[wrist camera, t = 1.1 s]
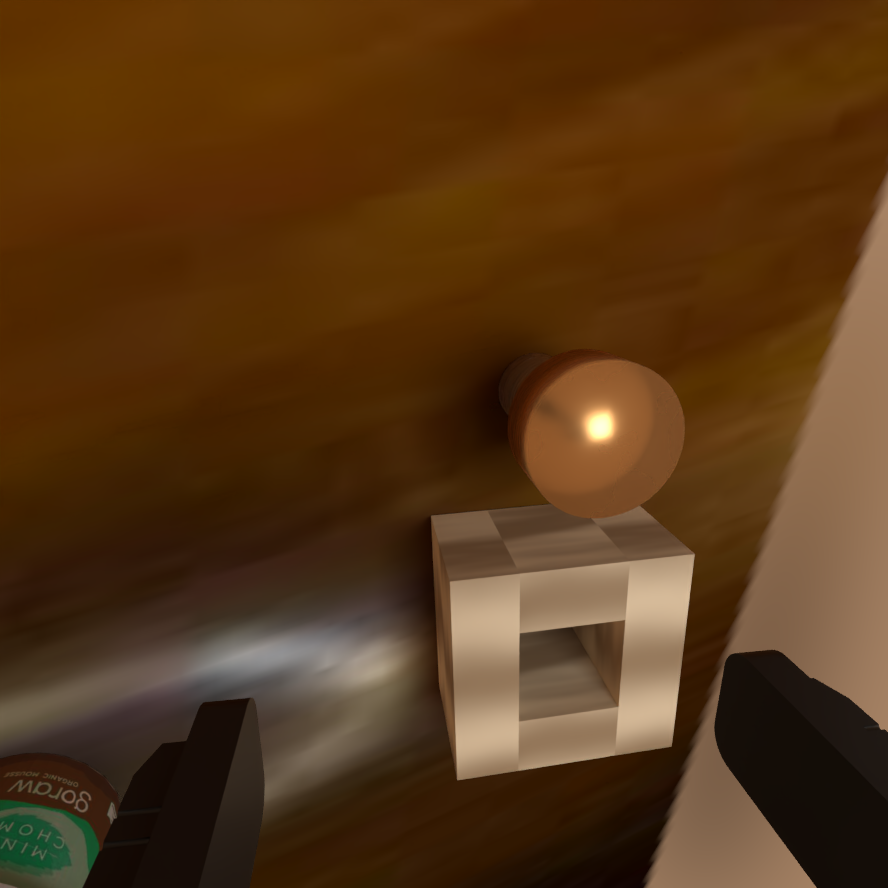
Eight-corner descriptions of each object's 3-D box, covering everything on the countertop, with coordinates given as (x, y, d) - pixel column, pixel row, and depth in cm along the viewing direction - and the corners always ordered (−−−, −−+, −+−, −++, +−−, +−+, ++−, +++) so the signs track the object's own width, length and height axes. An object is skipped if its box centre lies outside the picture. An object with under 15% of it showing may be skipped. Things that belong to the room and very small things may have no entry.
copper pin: (475, 333, 29) (527, 367, 20) (592, 326, 30) (692, 356, 21) (477, 449, 31) (526, 525, 22) (586, 439, 32) (676, 510, 23)
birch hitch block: (430, 515, 32) (449, 581, 26) (628, 496, 34) (694, 553, 27) (439, 685, 36) (457, 780, 30) (616, 661, 38) (671, 746, 31)
